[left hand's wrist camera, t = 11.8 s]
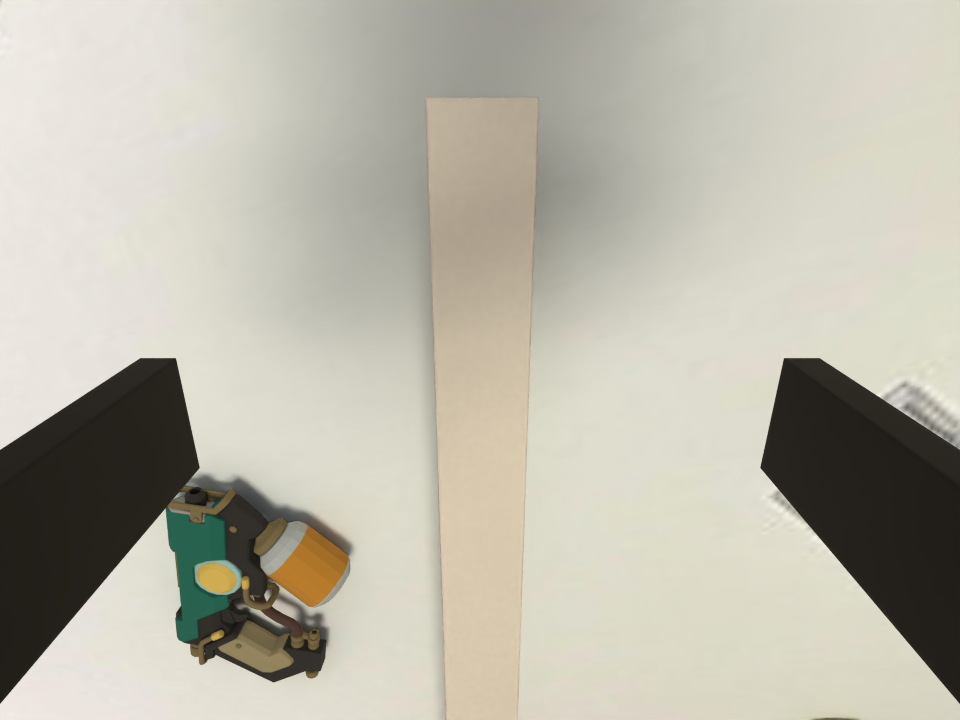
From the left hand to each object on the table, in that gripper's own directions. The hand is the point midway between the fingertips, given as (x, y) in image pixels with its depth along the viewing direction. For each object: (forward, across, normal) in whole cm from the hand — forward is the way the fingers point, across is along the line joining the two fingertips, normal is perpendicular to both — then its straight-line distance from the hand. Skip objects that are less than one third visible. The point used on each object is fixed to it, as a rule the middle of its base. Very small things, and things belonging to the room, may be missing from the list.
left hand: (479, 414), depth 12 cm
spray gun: (+23, -17, -26) cm, 39 cm away
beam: (+23, 0, -23) cm, 33 cm away
